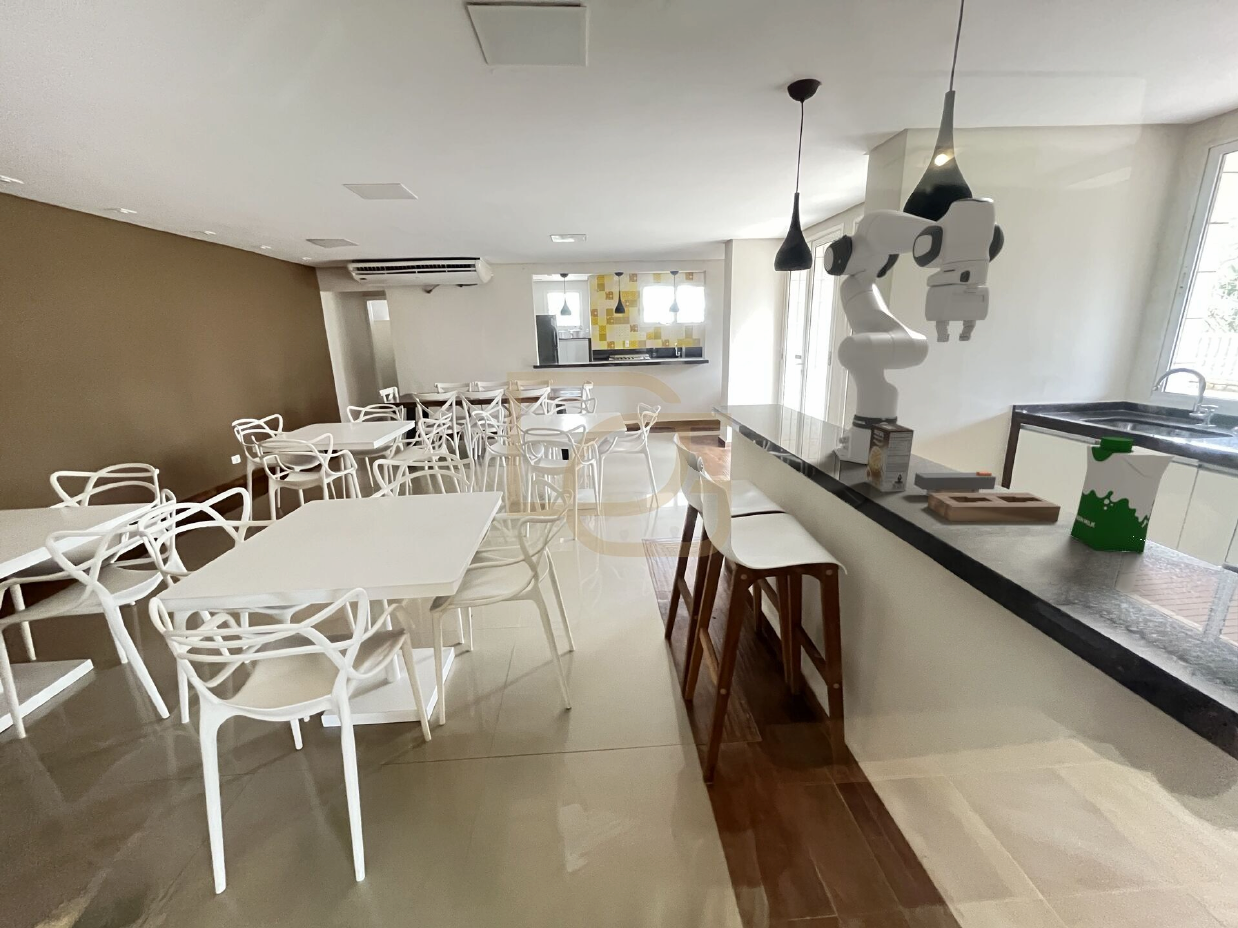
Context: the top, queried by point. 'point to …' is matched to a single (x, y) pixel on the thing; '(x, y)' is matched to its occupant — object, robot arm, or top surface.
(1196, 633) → the top surface
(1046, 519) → the keyhole board
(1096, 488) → the milk carton
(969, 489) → the block
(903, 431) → the coffee box
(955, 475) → the grey bar
